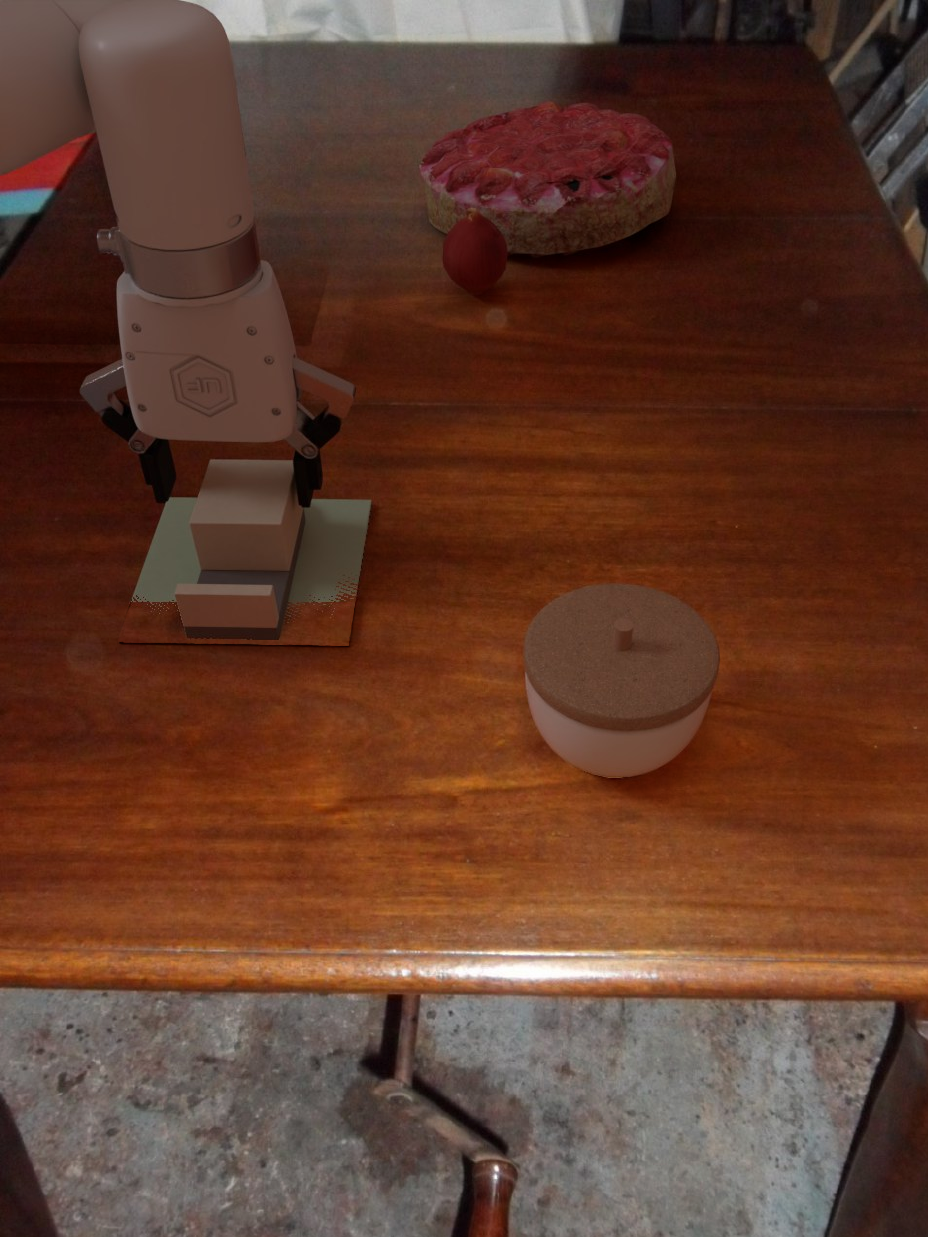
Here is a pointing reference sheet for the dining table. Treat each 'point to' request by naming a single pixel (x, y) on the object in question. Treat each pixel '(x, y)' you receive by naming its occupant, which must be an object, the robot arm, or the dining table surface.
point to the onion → (474, 253)
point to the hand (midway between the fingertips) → (237, 493)
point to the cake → (552, 176)
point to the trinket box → (619, 677)
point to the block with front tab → (243, 550)
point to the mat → (320, 563)
